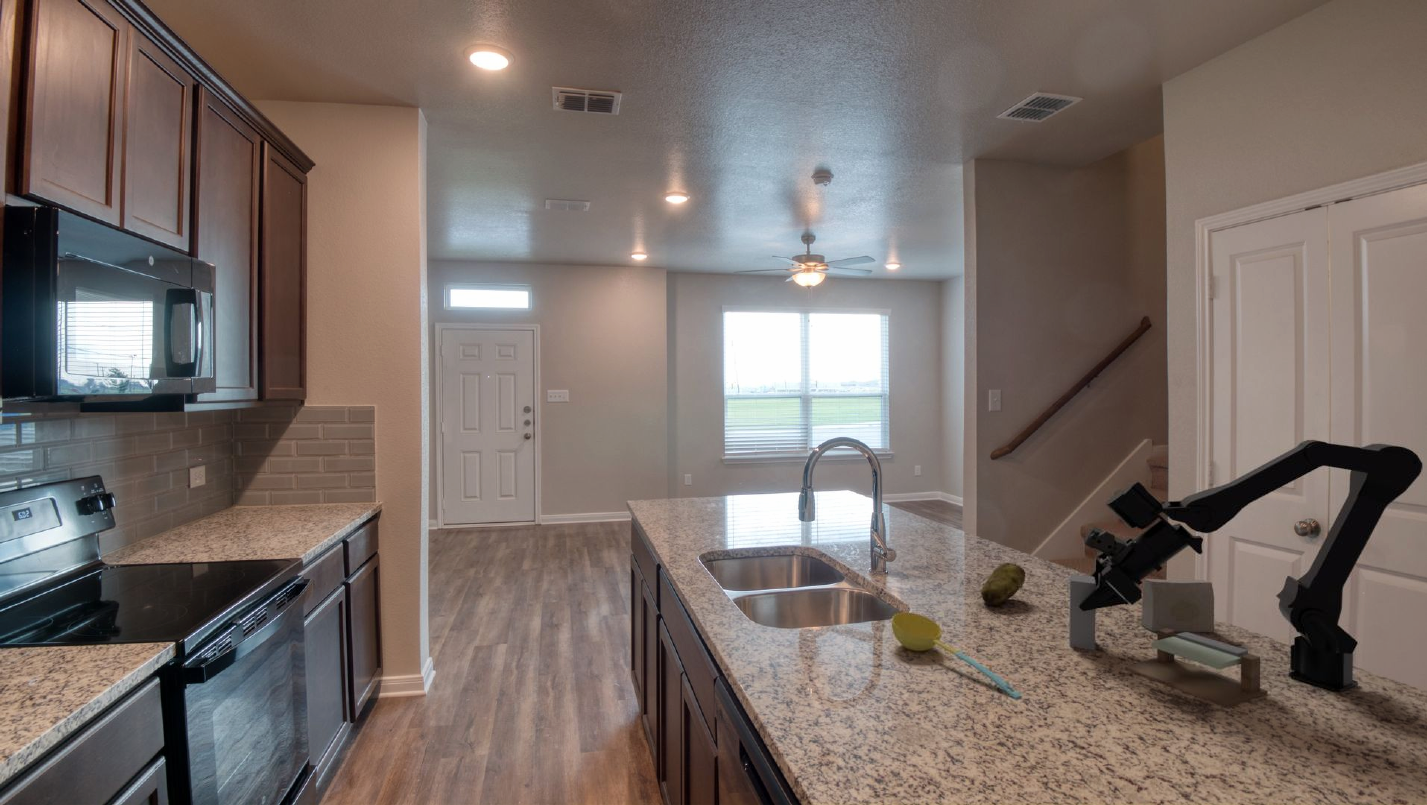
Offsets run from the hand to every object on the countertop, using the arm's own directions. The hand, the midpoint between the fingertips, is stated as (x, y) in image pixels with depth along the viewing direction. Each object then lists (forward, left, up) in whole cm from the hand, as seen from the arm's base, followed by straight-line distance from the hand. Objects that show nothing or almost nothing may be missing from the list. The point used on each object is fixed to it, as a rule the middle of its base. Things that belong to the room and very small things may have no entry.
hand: (1079, 601), depth 121 cm
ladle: (+2, +29, -8) cm, 30 cm away
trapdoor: (-18, -4, -4) cm, 19 cm away
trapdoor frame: (-18, -2, -8) cm, 20 cm away
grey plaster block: (-3, -24, -8) cm, 26 cm away
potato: (+24, -7, -8) cm, 26 cm away
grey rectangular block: (0, 0, -8) cm, 8 cm away
